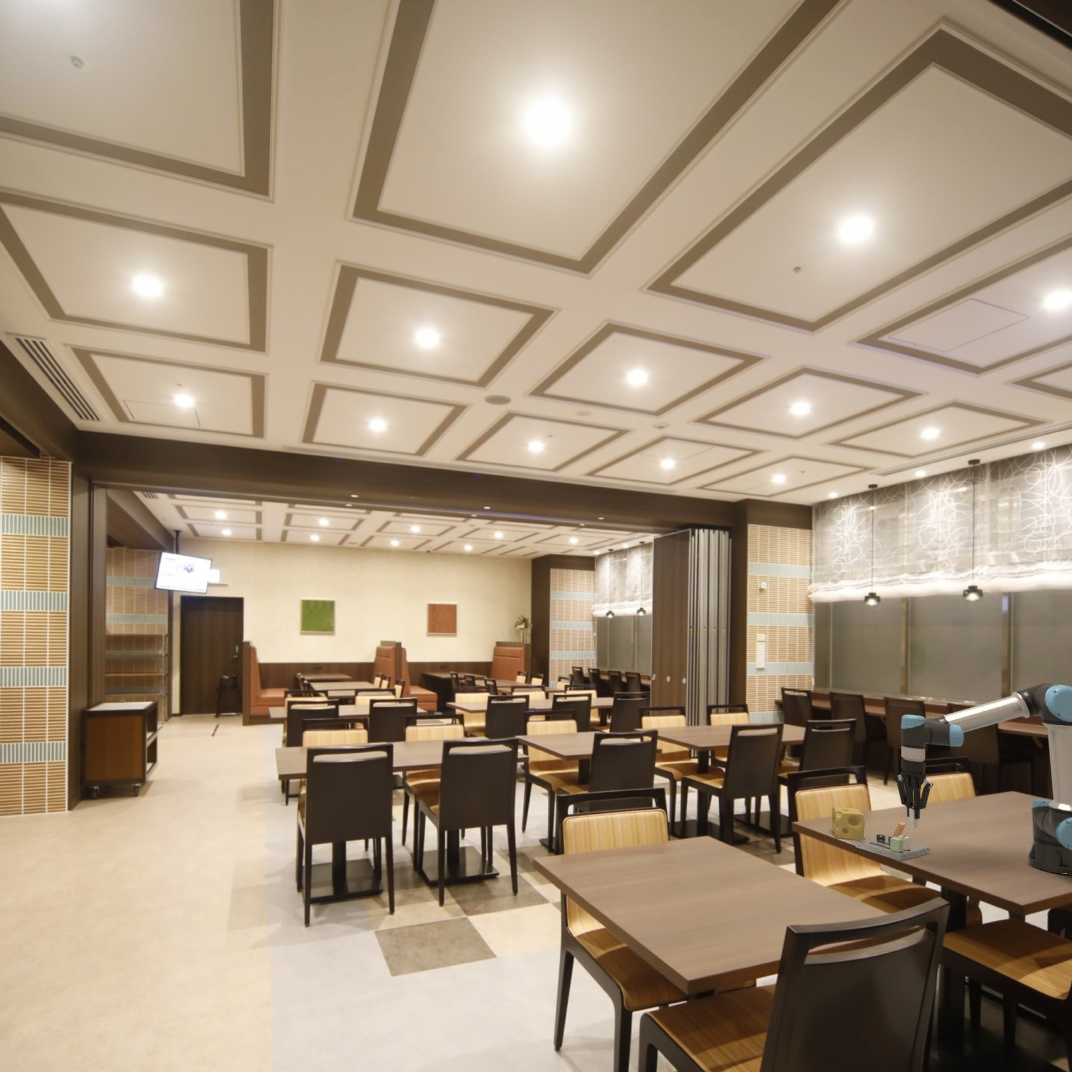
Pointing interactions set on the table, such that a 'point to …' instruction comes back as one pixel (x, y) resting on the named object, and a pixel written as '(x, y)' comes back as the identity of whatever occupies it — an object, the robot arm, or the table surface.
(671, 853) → the table surface
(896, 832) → the lever orange
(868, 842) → the panel
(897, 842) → the slider sage
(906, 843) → the slider ivory
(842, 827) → the cheese
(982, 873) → the table surface
